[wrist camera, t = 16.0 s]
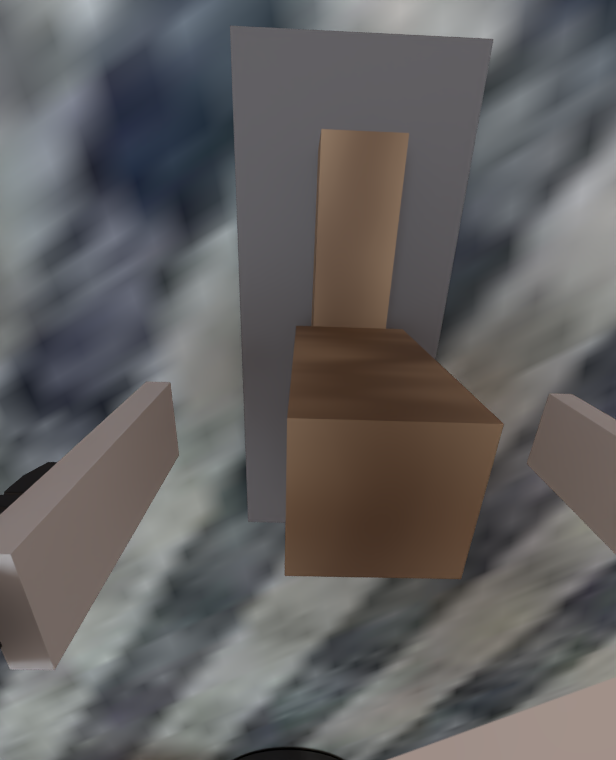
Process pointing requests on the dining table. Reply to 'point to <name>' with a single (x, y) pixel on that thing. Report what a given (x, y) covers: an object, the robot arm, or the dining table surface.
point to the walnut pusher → (374, 397)
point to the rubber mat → (299, 189)
